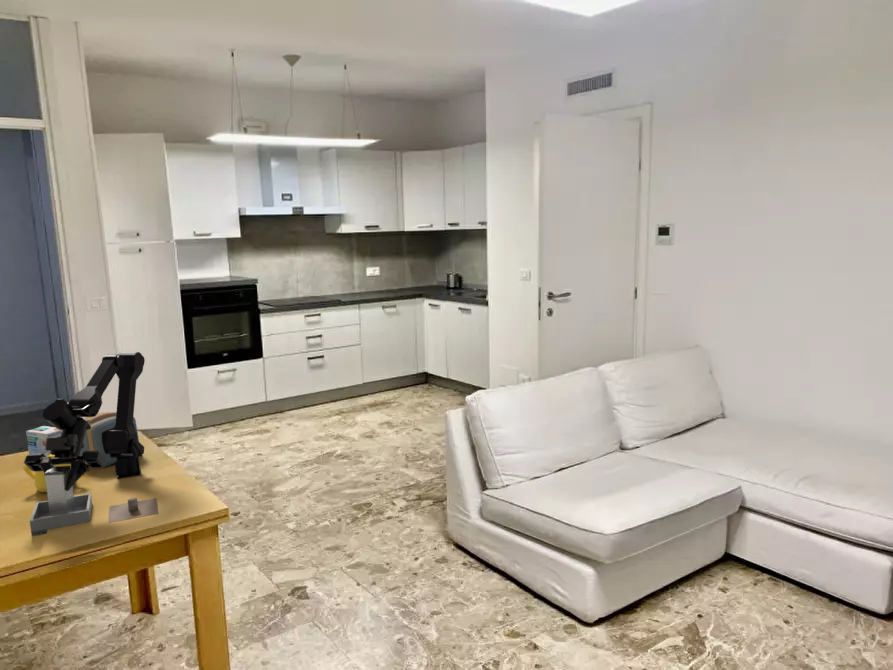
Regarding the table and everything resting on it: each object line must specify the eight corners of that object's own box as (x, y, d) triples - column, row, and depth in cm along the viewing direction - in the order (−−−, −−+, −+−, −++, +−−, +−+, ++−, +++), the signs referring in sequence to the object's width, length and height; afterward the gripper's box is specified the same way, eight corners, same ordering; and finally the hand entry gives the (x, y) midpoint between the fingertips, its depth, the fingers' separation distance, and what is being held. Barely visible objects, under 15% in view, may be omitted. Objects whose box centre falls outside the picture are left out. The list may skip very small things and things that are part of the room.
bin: (92, 506, 184) (91, 493, 183) (90, 525, 172) (88, 510, 171) (38, 516, 178) (36, 502, 178) (31, 535, 166) (29, 521, 166)
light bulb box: (28, 461, 224) (24, 430, 222) (47, 454, 230) (43, 425, 228) (50, 464, 220) (46, 433, 218) (68, 458, 226) (65, 428, 224)
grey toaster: (101, 469, 214) (96, 422, 211) (68, 463, 221) (63, 417, 218) (143, 454, 228) (139, 410, 226) (111, 448, 235) (107, 405, 233)
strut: (75, 508, 177) (70, 465, 175) (67, 515, 173) (62, 471, 171) (58, 509, 177) (52, 466, 175) (50, 516, 172) (44, 472, 171)
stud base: (156, 501, 187) (155, 487, 186) (158, 517, 176) (157, 502, 175) (109, 509, 182) (108, 496, 181) (108, 526, 171) (107, 512, 170)
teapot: (20, 491, 197) (16, 458, 195) (61, 476, 209) (57, 445, 207) (50, 497, 191) (46, 464, 190) (90, 482, 203) (86, 450, 201)
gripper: (23, 425, 174) (5, 480, 165) (96, 421, 176) (82, 476, 167) (41, 444, 183) (25, 497, 174) (111, 440, 185) (98, 493, 176)
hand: (57, 490), depth 172 cm, fingers closed on strut, 4 cm apart
